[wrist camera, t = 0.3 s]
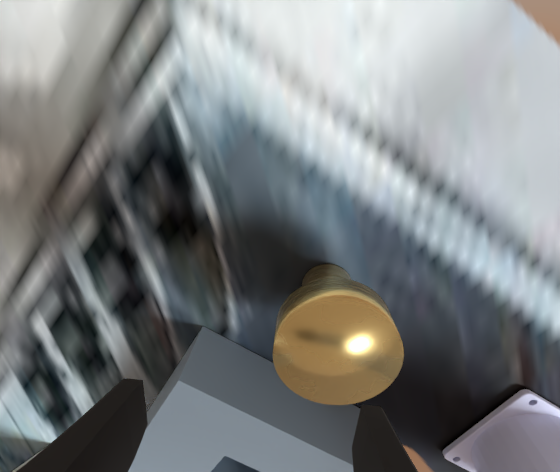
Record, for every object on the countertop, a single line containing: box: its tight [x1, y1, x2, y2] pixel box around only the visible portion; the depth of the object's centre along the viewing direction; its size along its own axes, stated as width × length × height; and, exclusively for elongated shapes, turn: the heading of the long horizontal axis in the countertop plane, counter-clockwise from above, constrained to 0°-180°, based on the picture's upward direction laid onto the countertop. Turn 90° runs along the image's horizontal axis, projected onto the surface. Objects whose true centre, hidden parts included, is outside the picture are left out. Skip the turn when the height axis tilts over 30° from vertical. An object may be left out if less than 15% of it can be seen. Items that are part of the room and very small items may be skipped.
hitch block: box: [128, 326, 360, 472], centre depth 22 cm, size 14×12×4 cm
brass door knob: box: [273, 264, 404, 405], centre depth 17 cm, size 6×6×6 cm
